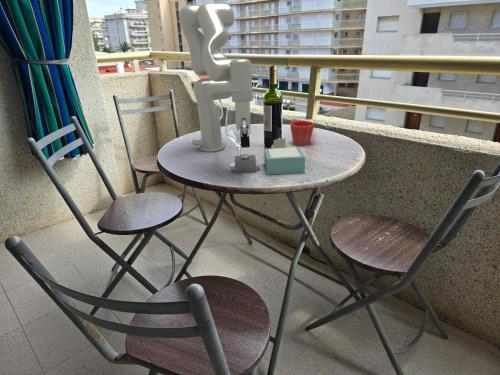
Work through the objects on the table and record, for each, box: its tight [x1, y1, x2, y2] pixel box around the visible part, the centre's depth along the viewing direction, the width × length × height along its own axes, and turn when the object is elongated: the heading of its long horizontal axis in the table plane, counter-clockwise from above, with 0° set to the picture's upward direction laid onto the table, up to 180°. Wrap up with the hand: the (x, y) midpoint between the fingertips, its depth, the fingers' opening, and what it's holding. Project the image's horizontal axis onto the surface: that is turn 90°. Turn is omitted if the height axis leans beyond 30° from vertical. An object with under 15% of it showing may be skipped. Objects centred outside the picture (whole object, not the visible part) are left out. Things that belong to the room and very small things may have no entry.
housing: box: [230, 153, 261, 174], centre depth 122 cm, size 11×6×6 cm, turn 92°
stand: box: [263, 147, 306, 175], centre depth 122 cm, size 14×12×6 cm
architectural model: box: [270, 137, 289, 149], centre depth 138 cm, size 3×7×7 cm, turn 110°
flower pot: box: [289, 120, 315, 146], centre depth 150 cm, size 11×11×10 cm
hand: (245, 143), depth 118 cm, fingers open, 9 cm apart
